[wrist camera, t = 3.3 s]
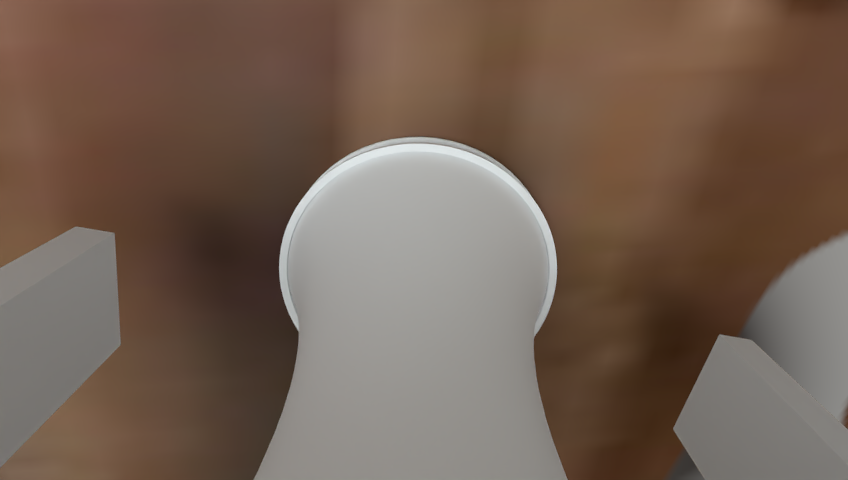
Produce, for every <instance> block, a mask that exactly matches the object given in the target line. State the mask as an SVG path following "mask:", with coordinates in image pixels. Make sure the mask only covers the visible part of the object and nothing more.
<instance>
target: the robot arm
mask: <svg viewBox="0 0 848 480" xmlns="http://www.w3.org/2000/svg"><path fill="white" fill-rule="evenodd" d="M120 345H121V340H120V322H119V304H118V286H117V268H116V250H115V233H112V232H106V231H100V230H94V229H88V228H82V227H74V228H72V229H70V230H69V231H67V232H65V233H63V234H61V235H59V236H58V237H56V238H54V239H52V240H50V241H49V242H47V243H45V244H43V245H41V246H39V247H38V248H36V249H34V250H32V251H30V252H29V253H27V254H25V255H23V256H21V257H19V258H18V259H16V260H14V261H12V262H10V263H8V264H7V265H5V266H3V267H1V268H0V467H1V466H2V465H3V464H4V463H5V462H6V461H7V460H8V459H9V458H10V457H11V456H12V455H13V454H14V453H15V452H16V451H17V450H18V449H19V448H20V447H21V446H22V445H23V444H24V443H25V442H26V441H27V440H28V439H29V438H30V437H31V436H32V435H33V434H34V433H35V432H36V431H37V430H38V429H39V428H40V427H41V426H42V425H43V424H44V422H45V421H46V420H47V419H48V418H49V417H50V416H51V415H52V414H53V413H54V412H55V411H56V410H57V409H58V408H59V407H60V406H61V405H62V404H63V403H64V402H65V401H66V400H67V399H68V398H69V397H70V396H71V395H72V394H73V393H74V392H75V391H76V390H77V389H78V388H79V387H80V386H81V385H82V384H83V383H84V382H85V381H86V380H87V379H88V378H89V377H90V376H91V375H92V374H93V373H94V372H95V371H96V369H97V368H98V367H99V366H100V365H101V364H102V363H103V362H104V361H105V360H106V359H107V358H108V357H109V356H110V355H111V354H112V353H113V352H114V351H115V350H116V349H117V348H118V347H119V346H120ZM673 430H674V431H675V433H676V435H677V436H678V438H679V439H680V441H681V443H682V444H683V446H684V447H685V449H686V451H687V452H688V454H689V455H690V457H691V458H692V460H693V461H694V463H695V465H696V466H697V468H698V470H699V471H700V473H701V474H702V476H703V477H704V479H705V480H848V429H847V428H845V427H844V426H843V425H842V424H841V423H840V422H839V421H838V420H837V419H836V418H835V417H834V416H833V415H832V414H830V413H829V412H828V411H827V410H826V409H825V408H824V407H823V406H822V405H821V404H820V403H819V402H817V400H815V399H814V398H813V397H812V396H811V395H810V394H809V393H808V392H807V391H806V390H805V389H804V388H803V387H801V386H800V385H799V384H798V383H797V382H796V381H795V380H794V379H793V378H792V377H791V376H790V375H789V374H788V373H786V372H785V371H784V370H783V369H782V368H781V367H780V366H779V365H778V364H777V363H776V362H775V361H774V360H773V359H771V358H770V357H769V356H768V355H767V354H766V353H765V352H764V351H763V350H762V349H761V348H760V347H759V346H758V345H756V344H755V343H754V342H753V341H752V340H750V339H743V338H738V337H732V336H726V335H720V334H719V336H718V338H717V340H716V342H715V344H714V346H713V348H712V350H711V352H710V354H709V356H708V358H707V360H706V362H705V364H704V367H703V369H702V371H701V373H700V375H699V377H698V379H697V381H696V383H695V385H694V387H693V389H692V391H691V393H690V395H689V397H688V399H687V401H686V403H685V405H684V407H683V409H682V411H681V413H680V416H679V418H678V420H677V422H676V424H675V426H674V428H673Z"/></svg>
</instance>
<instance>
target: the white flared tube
mask: <svg viewBox="0 0 848 480" xmlns="http://www.w3.org/2000/svg"><path fill="white" fill-rule="evenodd" d="M279 276H280V285H281V290H282V295H283V298H284V302H285V305H286V308H287V310H288V312H289V315H290V317H291V319H292V321H293V323H294V324H295V326H296V328H297V329H298V331H299V341H298V351H297V357H296V363H295V369H294V373H293V377H292V382H291V386H290V389H289V392H288V395H287V399H286V402H285V405H284V408H283V412H282V414H281V417H280V420H279V422H278V425H277V428H276V431H275V433H274V435H273V438H272V440H271V442H270V444H269V447H268V449H267V451H266V454H265V456H264V458H263V461H262V463H261V465H260V467H259V470H258V472H257V474H256V476H255V478H254V480H568V479H567V477H566V474H565V472H564V469H563V466H562V464H561V461H560V458H559V456H558V453H557V450H556V448H555V445H554V442H553V440H552V436H551V433H550V430H549V427H548V423H547V420H546V417H545V413H544V409H543V405H542V401H541V397H540V393H539V388H538V383H537V377H536V369H535V361H534V337H535V335H536V334H537V332H538V331H539V329H540V328H541V326H542V324H543V322H544V320H545V318H546V316H547V314H548V311H549V309H550V306H551V303H552V300H553V296H554V292H555V287H556V279H557V259H556V251H555V245H554V241H553V238H552V234H551V231H550V229H549V226H548V224H547V221H546V219H545V217H544V215H543V213H542V212H541V210H540V208H539V207H538V205H537V204H536V202H535V201H534V199H533V198H532V196H531V195H530V193H529V192H528V190H527V189H526V188H525V186H524V185H523V184H522V183H521V182H520V180H519V179H518V178H517V177H516V176H515V175H514V174H513V173H512V172H511V171H509V170H508V169H507V168H506V167H505V166H503V165H502V164H501V163H499V162H498V161H496V160H495V159H493V158H492V157H490V156H489V155H487V154H485V153H483V152H481V151H479V150H477V149H475V148H472V147H470V146H467V145H465V144H462V143H458V142H455V141H451V140H446V139H441V138H433V137H402V138H395V139H389V140H385V141H381V142H377V143H374V144H371V145H368V146H366V147H363V148H361V149H359V150H357V151H355V152H352V153H351V154H349V155H347V156H346V157H344V158H342V159H341V160H339V161H338V162H337V163H335V164H334V165H333V166H331V167H330V168H329V169H328V170H327V171H325V172H324V173H323V174H322V175H321V176H320V177H319V178H318V180H317V181H316V182H315V183H314V184H313V185H312V187H311V188H310V189H309V191H308V192H307V193H306V195H305V196H304V197H303V198H302V200H301V201H300V203H299V204H298V206H297V207H296V209H295V211H294V212H293V214H292V216H291V218H290V220H289V223H288V225H287V227H286V230H285V233H284V237H283V240H282V245H281V250H280V258H279ZM546 288H547V289H546ZM291 294H292V295H291Z"/></svg>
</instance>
